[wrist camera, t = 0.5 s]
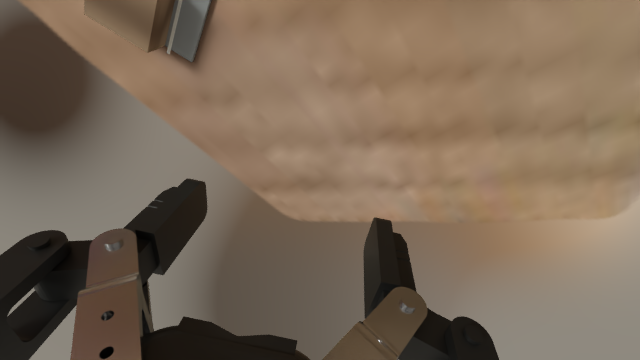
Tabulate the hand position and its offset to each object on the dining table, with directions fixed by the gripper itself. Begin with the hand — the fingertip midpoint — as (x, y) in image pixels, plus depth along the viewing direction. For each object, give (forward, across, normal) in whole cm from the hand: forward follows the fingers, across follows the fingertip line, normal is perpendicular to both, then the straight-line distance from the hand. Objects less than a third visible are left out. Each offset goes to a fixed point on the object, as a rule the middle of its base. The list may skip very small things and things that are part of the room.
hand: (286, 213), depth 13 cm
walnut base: (+20, +20, -6) cm, 29 cm away
